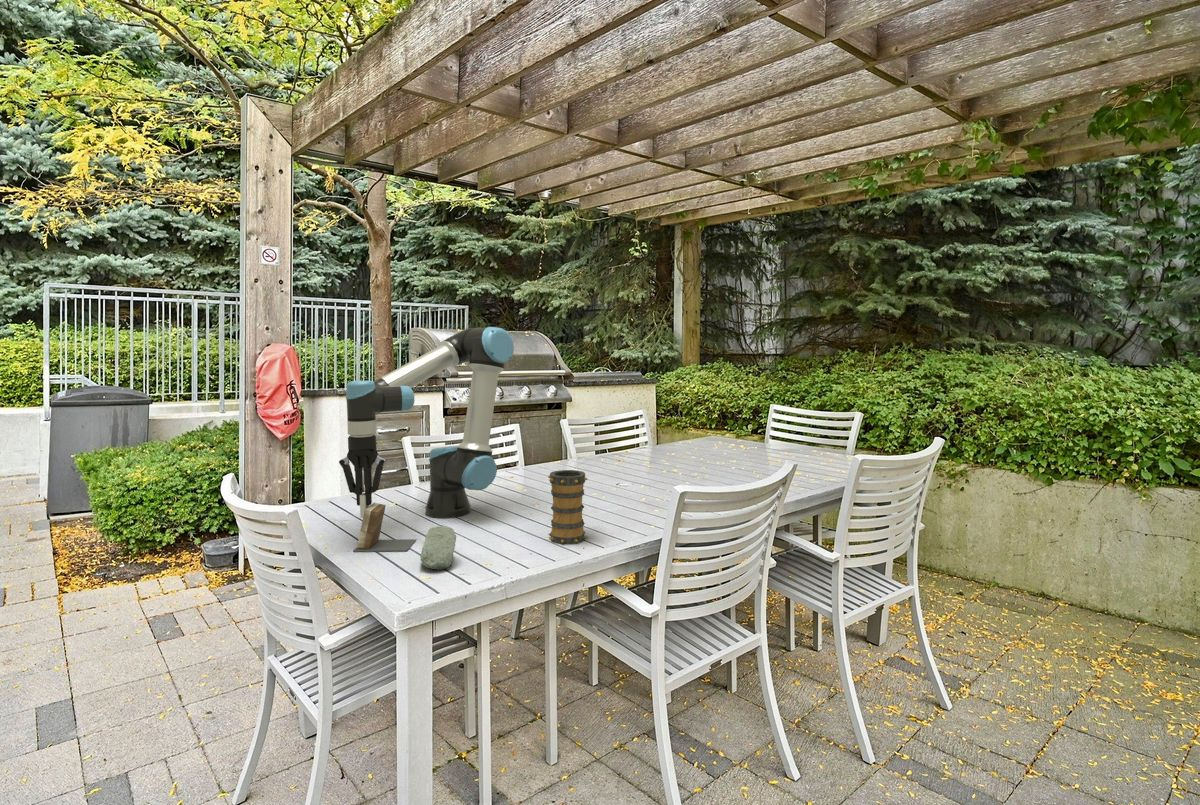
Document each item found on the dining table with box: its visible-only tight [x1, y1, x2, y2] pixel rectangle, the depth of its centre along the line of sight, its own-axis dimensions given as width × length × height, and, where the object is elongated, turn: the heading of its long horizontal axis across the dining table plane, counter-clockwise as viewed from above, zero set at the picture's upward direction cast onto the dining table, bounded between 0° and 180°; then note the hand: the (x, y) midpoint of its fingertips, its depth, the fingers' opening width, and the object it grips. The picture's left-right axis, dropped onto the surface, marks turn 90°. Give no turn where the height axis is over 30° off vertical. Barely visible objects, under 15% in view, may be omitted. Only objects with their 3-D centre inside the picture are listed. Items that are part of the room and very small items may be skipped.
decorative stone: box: [420, 524, 457, 570], centre depth 166 cm, size 13×11×10 cm
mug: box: [547, 469, 589, 545], centre depth 189 cm, size 13×17×20 cm
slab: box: [356, 502, 386, 549], centre depth 180 cm, size 4×8×11 cm, turn 3°
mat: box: [352, 538, 417, 553], centre depth 180 cm, size 15×10×1 cm, turn 92°
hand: (364, 516), depth 179 cm, fingers closed
